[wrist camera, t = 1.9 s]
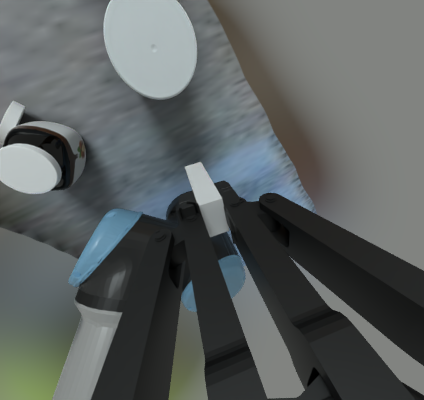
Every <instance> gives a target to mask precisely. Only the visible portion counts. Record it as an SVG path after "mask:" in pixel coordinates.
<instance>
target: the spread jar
mask: <svg viewBox="0 0 424 400" xmlns="http://www.w3.org/2000/svg"><path fill="white" fill-rule="evenodd" d="M25 108H26V107H25V106H23V105H21V104H19V103H17V102H15V101H12V103H11V104H10V106H9V107H8V109H7V111H6V113H5V115H4V117H3V119H2V122H1V124H0V144H1V145H3V148H1V149H0V180H1V181H2V182H3V183H4V184H6V185H7V186H9V187H10V188H12V189H15V190H17V191H20V192H23V193H28V194H42V193H45V192H48V191H53V190H64V189H67V188H69V187H70V186H72V185H73V184H74V183H75V182H76V181H77V179H78V178H79V177H80V176H81V174H82V172H83V170H84V167H85V163H86V147H85V144H84V141H83V139H82V137H81V136H80V134H79V133H78V132H77V131H76V130H74V129H72V128H70V127H68V126H65V125H62V124H59V123H54V122H47V121H34V122H28V123H24V124H21V125H19V123H20V120H21V118H22V116H23V113H24V111H25Z"/></svg>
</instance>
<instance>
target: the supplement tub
mask: <svg viewBox="0 0 424 400" xmlns="http://www.w3.org/2000/svg"><path fill="white" fill-rule="evenodd" d="M104 40H105V46H106V50H107V53H108V56H109V58H110V60H111V63H112V65H113V66H114V68H115V70H116V71H117V73H118V74H119V76H120V77H121V78H122V80H123V81H124V82H125V83H126V84H127V85H128V86H129V87H130V88H131V89H133V90H134V91H135V92H137V93H139V94H140V95H142V96H145V97H147V98H151V99H156V100H165V99H169V98H172V97H175V96H177V95H178V94H180V93H181V92H182V91H183V90H184V89H185V88H186V87H187V85H188V84H189V83H190V81H191V79H192V77H193V74H194V72H195V68H196V64H197V42H196V37H195V33H194V29H193V26H192V24H191V21H190V19H189V17H188V16H187V14H186V12H185V10H184V9H183V7H182V6H181V5H180V3H179V2H178V1H177V0H111V1H110V2H109V4H108V7H107V10H106V13H105V18H104Z"/></svg>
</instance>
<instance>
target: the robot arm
mask: <svg viewBox="0 0 424 400" xmlns="http://www.w3.org/2000/svg"><path fill="white" fill-rule="evenodd" d="M185 169H186V172H187V175H188V178H189V181H190V184H191V187H192V191H190V192H186V193H184V194H181V195H180V196H178V197H177V198H176V199H174V200H173V201H172V203H171V204H170V205H169V207H168V210H167V213H166V220H163V219H160V218H156V217H152V216H149V215H145V214H142V213H143V212H134V211H130V210H125V209H120V208H116V209H112V210H110V211H109V212H107V213H106V214H105V216H104V217H103V218H102V220H101V222H100V223H99V225H98V226H97V228H96V230H95V231H94V233H93V235H92V236H91V238H90V240H89V242H88V243H87V245H86V247H85V249H84V251H83V252H82V254H81V256H80V258H79V260H78V262H77V264H76V266H75V268H74V270H73V273H72V274H71V276H70V278H69V281H68V282H69V284H70V285H73V287H78V286H79V290H78V292H77V295H76V297H75V300H74V303H75V304H76V306H77V308H78V309H79V311H80V312H81V314H82V317H81V320H80V323H79V326H78V329H77V331H76V334H75V337H74V340H73V343H72V346H71V348H70V351H69V354H68V357H67V360H66V362H65V365H64V368H63V371H62V373H61V376H60V379H59V382H58V385H57V387H56V390H55V393H54V396H53V399H52V400H168V398H169V390H170V382H171V374H172V365H173V356H174V349H175V341H176V333H177V324H178V317H179V309H180V301H182V303H183V304H184V306H185V307H186V308H187V309H188V310H190V311H193V312H197V315H198V320H199V326H200V332H201V338H202V343H203V349H204V354H205V369H204V370H205V381H206V389H207V395H208V400H424V395H422V394H420V393H419V392H417V391H415V390H414V389H412V388H411V387H409V386H407V385H406V384H404V383H402V382H401V381H400V380H399V379H398V378H397V377H396V376H395V375H394V373H393V372H392V371H391V370H390V368H389V367H388V366H387V365H386V364H385V362H384V361H383V360H382V359H381V357H380V356H379V355H378V354H377V353H376V351H375V350H374V349H373V348H372V347H371V345H370V344H369V343H368V342H367V341H366V339H365V338H364V337H363V336H362V334H361V333H360V332H359V331H358V330H357V329H356V327H355V326H354V325H353V324H352V323H351V322H350V321H349V320H348V318H347V317H346V316H344V315H343V314H342V313H340V312H337V311H334V310H332V309H331V308H330V307H329V306H328V305H327V304H326V303H325V301H324V300H323V299H322V298H321V296H320V295H319V294H318V292H317V291H316V290H315V289H314V287H313V286H312V285H311V284H310V283H309V281H308V280H307V279H306V277H305V276H304V275H303V273H302V272H301V271H300V269H299V268H298V267H297V266H296V264H295V263H294V262H293V260H295V261H296V262H297V263H298V264H299V265H301V266H302V267H303V268H304V269H305V270H307V271H308V272H309V273H310V274H311V275H313V276H314V277H315V278H316V279H318V280H319V281H320V282H321V283H322V284H324V285H325V286H326V287H327V288H328V289H329V290H331V291H332V292H333V293H334V294H336V295H337V296H338V297H339V298H340V299H342V300H343V301H344V302H345V303H346V304H347V305H349V306H350V307H351V308H352V309H353V310H355V311H356V312H357V313H358V314H360V315H361V316H362V317H363V318H364V319H366V320H367V321H368V322H369V323H370V324H372V325H373V326H374V327H375V328H376V329H378V330H379V331H380V332H381V333H382V334H384V335H385V336H386V337H387V338H388V339H390V340H391V341H392V342H393V343H394V344H396V345H397V346H398V347H399V348H401V349H402V350H403V351H405V352H406V353H407V354H408V355H410V356H411V357H412V358H413V359H415V360H416V361H418V362H419V363H421V364H422V365H423V366H424V271H423V270H421V269H419V268H417V267H415V266H413V265H411V264H410V263H408V262H406V261H404V260H402V259H400V258H398V257H396V256H394V255H393V254H391V253H389V252H387V251H385V250H383V249H381V248H379V247H377V246H375V245H373V244H372V243H370V242H368V241H366V240H364V239H362V238H360V237H358V236H357V235H355V234H353V233H351V232H349V231H347V230H345V229H343V228H341V227H339V226H338V225H335V224H334V223H332V222H330V221H328V220H326V219H324V218H322V217H320V216H318V215H317V214H315V213H313V212H311V211H309V210H307V209H305V208H303V207H301V206H300V205H298V204H296V203H294V202H292V201H290V200H288V199H286V198H284V197H282V196H281V195H279V194H276V193H266V194H263V195H262V196H260V198H259V201H255V202H246V200H245V199H243V198H241V197H239V196H238V195H237V194H236V192H235V191H234V190H233V189H232V187H231V186H230V184H229V183H228V182H226V181H220V182H217V183H213V182H212V180H211V178H210V177H209V175H208V173H207V171H206V170H205V168H204V166H203V165H202V163H201V162H198V163H195V164H192V165H189V166H185ZM228 226H229V227H228ZM229 228H230V230H231V235H232V239H233V243H232V241H231V239H230V237H229V235H228V233H227V231H229ZM234 243H236V245H237V248H238V250H239V252H240V254H241V256H242V258H243V260H244V262H245V264H246V266H247V268H248V270H249V272H250V274H251V276H252V278H253V280H254V282H255V284H256V286H257V288H258V290H259V292H260V294H261V296H262V298H263V300H264V302H265V304H266V306H267V308H268V310H269V312H270V314H271V316H272V318H273V320H274V322H275V324H276V326H277V328H278V330H279V332H280V334H281V336H282V338H283V340H284V342H285V344H286V346H287V348H288V350H289V353H290V355H291V358H292V361H293V364H294V367H295V369H296V372H297V374H298V376H299V378H300V380H301V382H302V384H303V386H304V388H305V391H304V392H303V393H302V394H301V395H300V396H299V397H297V398H278V399H277V398H276V399H267V397H266V394H265V391H264V388H263V385H262V382H261V380H260V377H259V374H258V371H257V368H256V366H255V363H254V360H253V357H252V354H251V352H250V349H249V347H248V344H247V341H246V339H245V336H244V333H243V330H242V327H241V324H240V322H239V319H238V316H237V313H236V310H235V308H234V305H233V302H232V298H233V297H234V296H235V295H236V294H237V293H238V292H239V291H240V289H241V288H242V286H243V284H244V282H245V270H244V268H243V265H242V263H241V258H240V256H239V255H238V253H237V251H236V249H235V247H234V245H233V244H234ZM289 256H290V257H291V258H292V259H293V260H292V259H291V258H290V257H289ZM181 295H182V296H181Z"/></svg>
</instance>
